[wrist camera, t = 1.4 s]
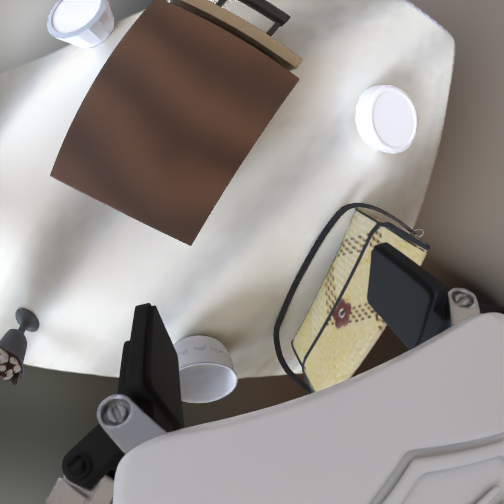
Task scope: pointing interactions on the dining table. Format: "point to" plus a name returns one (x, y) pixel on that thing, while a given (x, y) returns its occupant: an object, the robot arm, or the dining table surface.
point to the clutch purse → (344, 301)
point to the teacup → (204, 369)
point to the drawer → (247, 26)
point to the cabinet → (171, 120)
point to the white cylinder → (81, 21)
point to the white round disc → (386, 118)
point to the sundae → (16, 346)
